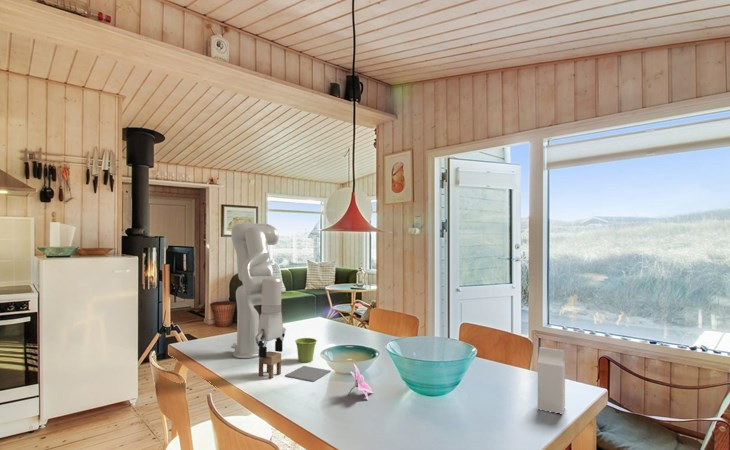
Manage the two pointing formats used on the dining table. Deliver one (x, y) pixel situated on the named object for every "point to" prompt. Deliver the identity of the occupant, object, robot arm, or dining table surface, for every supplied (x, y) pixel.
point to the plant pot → (305, 349)
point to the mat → (308, 373)
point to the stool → (270, 363)
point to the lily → (360, 382)
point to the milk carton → (551, 380)
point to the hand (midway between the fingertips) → (270, 354)
